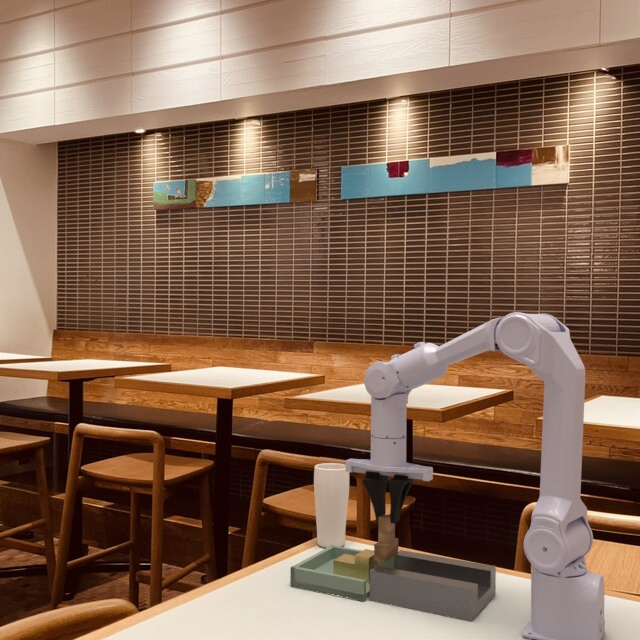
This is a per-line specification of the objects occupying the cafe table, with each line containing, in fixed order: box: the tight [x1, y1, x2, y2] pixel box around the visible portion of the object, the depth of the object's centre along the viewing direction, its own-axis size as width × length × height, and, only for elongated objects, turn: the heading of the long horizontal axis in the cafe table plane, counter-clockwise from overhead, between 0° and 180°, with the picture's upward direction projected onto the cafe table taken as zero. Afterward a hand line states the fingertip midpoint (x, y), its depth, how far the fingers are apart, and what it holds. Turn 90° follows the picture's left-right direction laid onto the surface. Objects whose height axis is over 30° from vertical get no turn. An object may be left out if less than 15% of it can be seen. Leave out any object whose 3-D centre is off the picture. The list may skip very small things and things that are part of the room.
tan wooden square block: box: [333, 554, 355, 578], centre depth 122 cm, size 4×4×2 cm
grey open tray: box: [369, 549, 497, 622], centre depth 114 cm, size 16×12×4 cm
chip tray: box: [289, 545, 394, 602], centre depth 121 cm, size 13×14×3 cm
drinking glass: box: [313, 462, 350, 549], centre depth 141 cm, size 7×7×15 cm
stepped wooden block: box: [373, 513, 399, 562], centre depth 119 cm, size 2×5×6 cm, turn 151°
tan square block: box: [354, 548, 379, 583], centre depth 120 cm, size 4×4×2 cm
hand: (387, 520), depth 119 cm, fingers closed on stepped wooden block, 2 cm apart
